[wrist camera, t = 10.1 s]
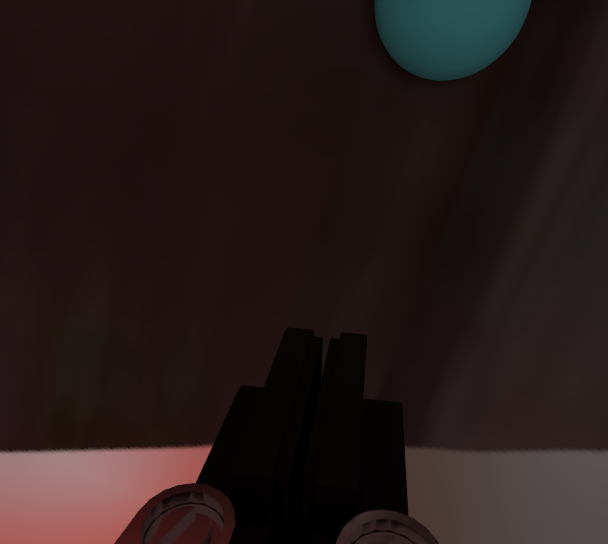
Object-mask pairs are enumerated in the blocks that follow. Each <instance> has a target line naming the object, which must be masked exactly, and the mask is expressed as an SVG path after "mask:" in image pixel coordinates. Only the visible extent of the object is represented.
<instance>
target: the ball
mask: <svg viewBox="0 0 608 544" xmlns="http://www.w3.org/2000/svg"><path fill="white" fill-rule="evenodd" d="M530 4H531V0H375V19H376V24H377V29H378V33H379V35H380V38H381V40H382V42H383V44H384V46H385V48H386V50H387V51H388V53H389V54H390V56H391V57H392V58H393V59H394V60H395V61H396V62H397V63H398V64H399V65H400V66H401V67H402V68H404V69H405V70H407V71H408V72H410V73H412V74H414V75H416V76H419V77H421V78H425V79H430V80H438V81H447V80H455V79H460V78H463V77H466V76H469V75H472V74H474V73H476V72H478V71H480V70H482V69H484V68H485V67H487V66H488V65H490V64H491V63H492V62H494V61H495V60H496V59H497V58H498V57H499V56H500V55H502V54H503V53H504V52H505V50H506V49H507V48H508V47H509V46H510V45H511V43H512V42H513V41H514V39H515V38H516V36H517V34H518V33H519V31H520V29H521V27H522V25H523V23H524V21H525V19H526V17H527V14H528V11H529V8H530Z"/></svg>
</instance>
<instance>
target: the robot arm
mask: <svg viewBox="0 0 608 544" xmlns="http://www.w3.org/2000/svg"><path fill="white" fill-rule="evenodd" d="M366 345H367V335H364V334H353V333H343V332H341V335H340V339H333V338H330V342H329V347H328V352H327V356H326V361H325V366H324V371H323V376H322V381H321V374H322V347H323V339H322V337H314V334H313V330H310V329H299V328H286V330H285V333H284V336H283V338H282V341H281V343H280V346H279V349H278V351H277V354H276V357H275V359H274V362H273V364H272V367H271V370H270V372H269V375H268V378H267V380H266V383H265V385H264V388H263V387H254V386H245V385H243V386H241V387H240V389H239V390H238V392H237V394H236V396H235V399H234V401H233V403H232V405H231V407H230V409H229V412H228V414H227V416H226V418H225V420H224V423H223V425H222V427H221V429H220V431H219V433H218V436H217V438H216V440H215V442H214V444H213V447H212V449H211V451H210V453H209V455H208V458H207V460H206V462H205V464H204V466H203V468H202V471H201V473H200V475H199V477H198V480H197V481H196V483H192V484H183V485H177V486H175V487H172V488H169V489H166V490H164V491H162V492H161V493H159V494H157V495H156V496H154V497H153V498H151V499H150V500H149V501H148V502H147V503H146V504H145V505H144V506H143V507H142V508H141V509H140V510H139V511H138V513H137V514H136V515H135V517H134V518H133V519H132V521H131V522H130V523H129V525H128V526H127V527H126V529H125V530H124V531H123V533H122V534H121V535H120V537H119V538H118V539H117V541H116V542H115V543H114V544H439V543H438V541H437V540H436V539H435V537H434V536H433V535H432V534H431V533H430V531H429V530H428V529H427V528H426V527H424V526H423V525H422V524H420V523H419V522H418V521H416V520H415V519H414V518H411V517H409V516H408V501H407V483H406V465H405V447H404V429H403V411H402V404H401V403H399V402H390V401H381V400H372V399H363V393H364V377H365V361H366Z"/></svg>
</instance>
